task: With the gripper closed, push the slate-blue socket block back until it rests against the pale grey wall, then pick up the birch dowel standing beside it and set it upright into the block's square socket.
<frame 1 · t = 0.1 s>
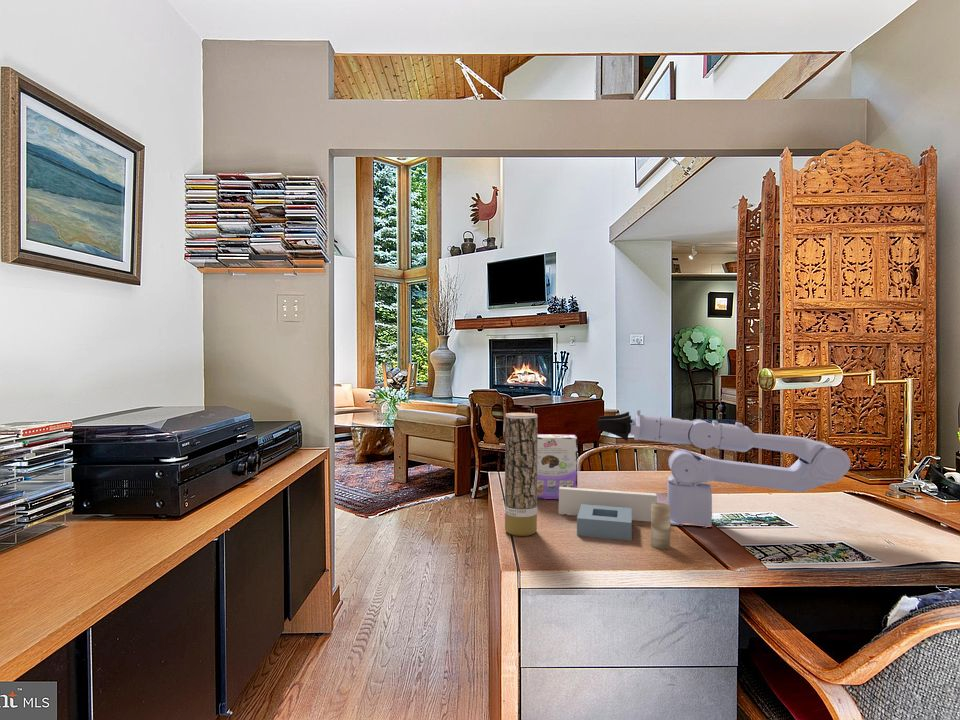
hand: (598, 422, 128), 22 cm above the table, tool horizontal, fingers open, 7 cm apart
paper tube: (520, 532, 115), on the table
socket block: (604, 531, 117), on the table
candy box: (550, 498, 143), on the table
wall: (606, 516, 126), on the table
dowel: (660, 545, 107), on the table
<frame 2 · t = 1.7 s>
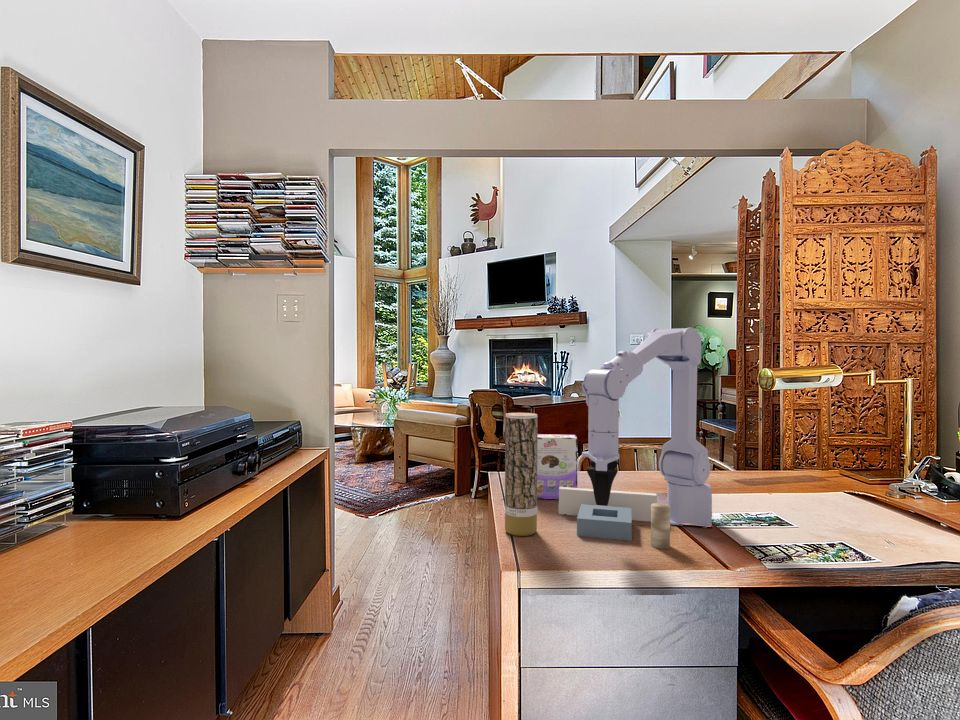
hand: (602, 500, 105), 9 cm above the table, tool pointing down, fingers open, 6 cm apart
nothing on the table moved.
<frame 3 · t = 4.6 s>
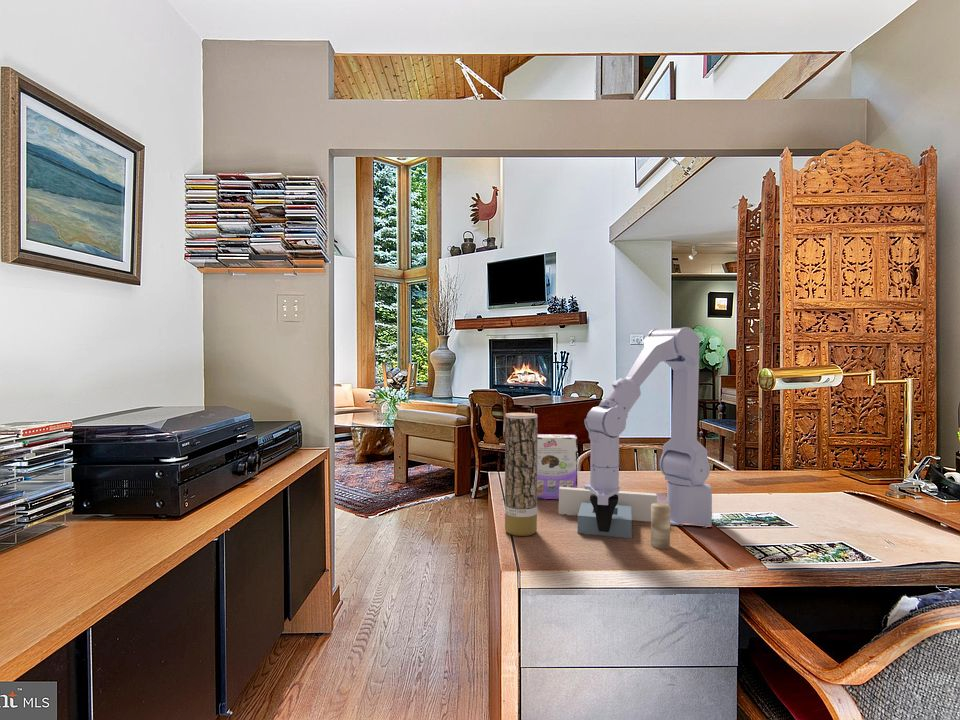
hand: (603, 530, 112), 1 cm above the table, tool pointing down, fingers closed
socket block: (605, 528, 118), on the table, touching gripper
everything else where it was.
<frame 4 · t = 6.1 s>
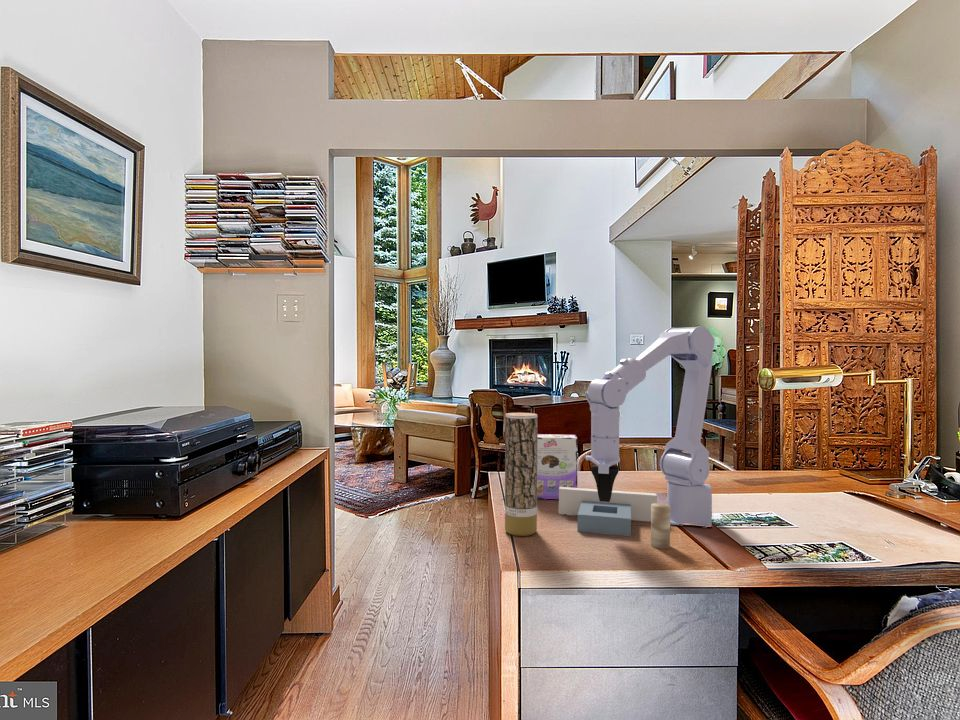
hand: (604, 500, 114), 7 cm above the table, tool pointing down, fingers closed
socket block: (604, 527, 120), on the table
everything else where it was.
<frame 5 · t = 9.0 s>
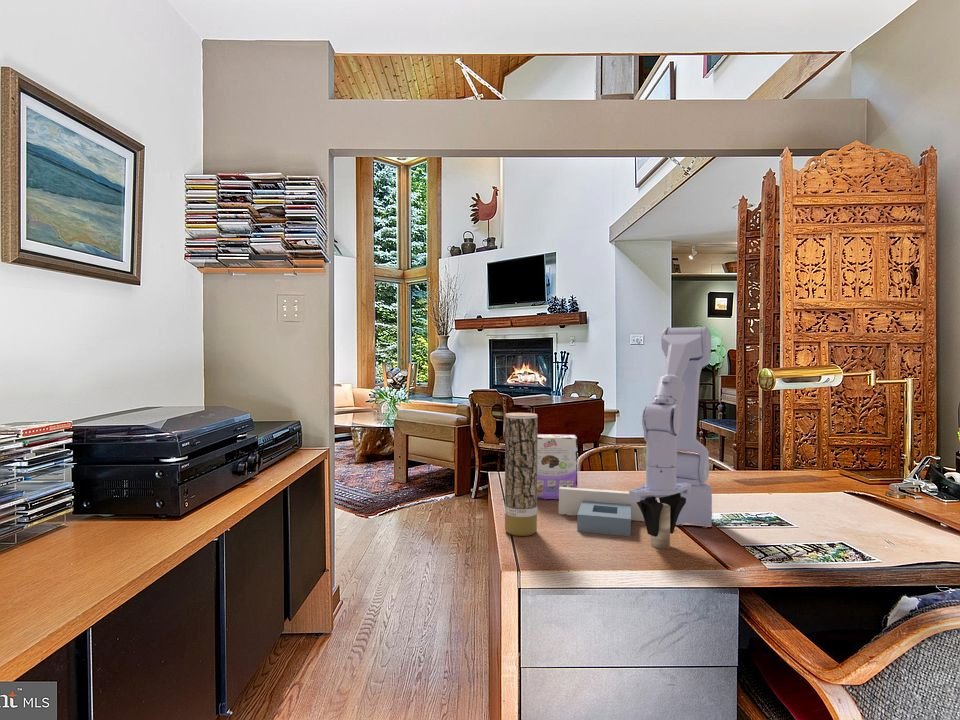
hand: (660, 533, 107), 2 cm above the table, tool pointing down, fingers closed on dowel, 4 cm apart
dowel: (660, 545, 107), on the table, touching gripper
everything else where it was.
when the fingers open (5 cm above the table, at t = 12.7 s): dowel drops 2 cm, resting on socket block.
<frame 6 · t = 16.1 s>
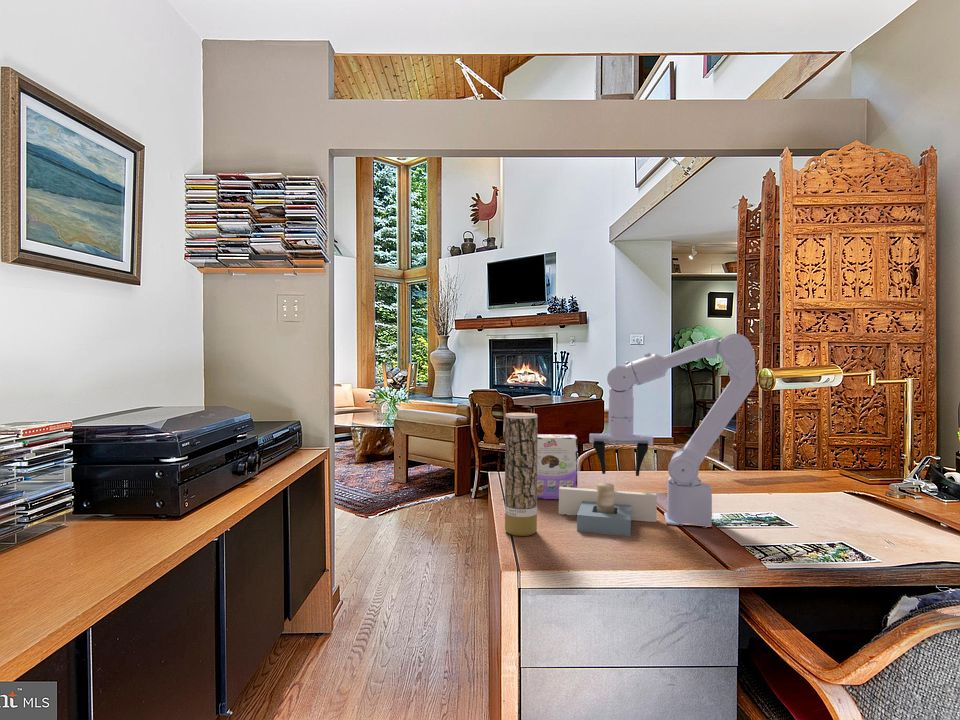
hand: (620, 474, 129), 9 cm above the table, tool pointing down, fingers open, 7 cm apart
socket block: (604, 527, 120), on the table, touching dowel
dowel: (605, 521, 120), point 1 cm above the table, touching socket block
everything else where it was.
at the end: dowel 0.1 cm off-centre on the socket block, point 1.5 cm above the socket block's base; dowel tilted 0°; socket block 0.1 cm from the target spot, on the table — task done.
